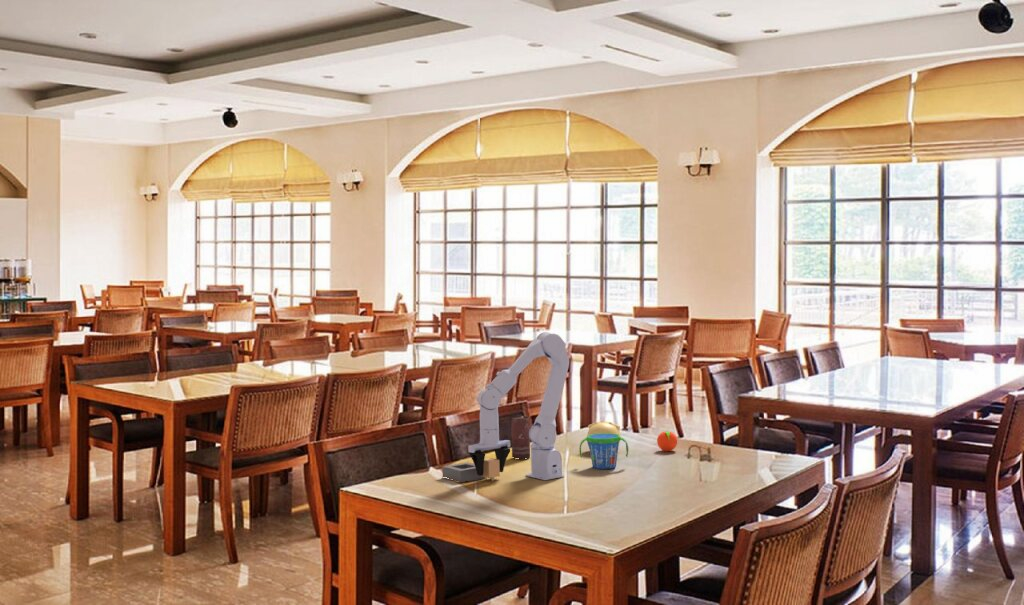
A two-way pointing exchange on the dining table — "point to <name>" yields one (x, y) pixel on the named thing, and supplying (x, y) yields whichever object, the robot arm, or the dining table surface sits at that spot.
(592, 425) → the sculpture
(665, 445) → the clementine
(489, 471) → the plug
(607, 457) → the snack cup
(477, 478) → the socket
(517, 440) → the can
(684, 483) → the dining table surface
